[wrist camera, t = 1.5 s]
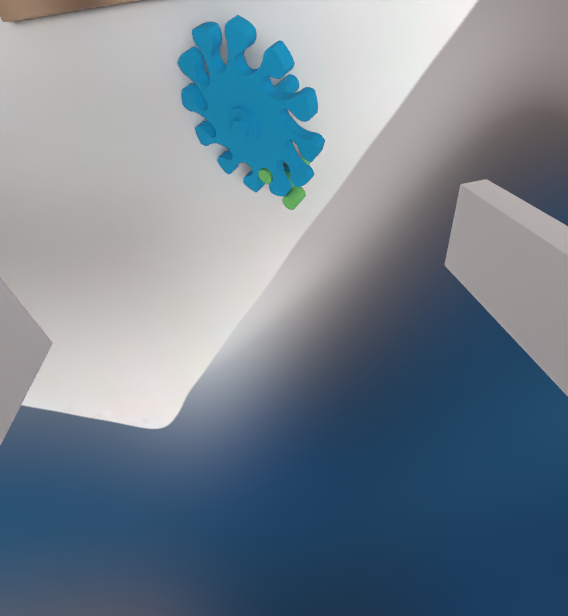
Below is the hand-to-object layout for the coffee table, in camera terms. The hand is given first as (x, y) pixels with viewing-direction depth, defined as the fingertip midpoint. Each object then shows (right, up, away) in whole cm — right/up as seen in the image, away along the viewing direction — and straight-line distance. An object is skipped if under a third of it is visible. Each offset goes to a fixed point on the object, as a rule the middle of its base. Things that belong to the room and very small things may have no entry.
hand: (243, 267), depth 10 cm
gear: (-3, +12, +15) cm, 20 cm away
